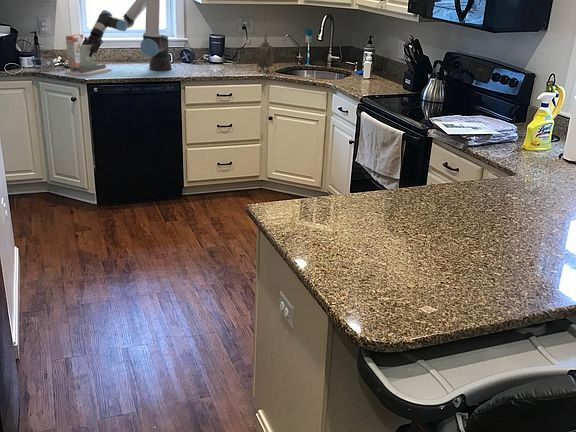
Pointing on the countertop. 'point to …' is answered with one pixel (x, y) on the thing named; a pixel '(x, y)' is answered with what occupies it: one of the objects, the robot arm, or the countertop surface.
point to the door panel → (83, 53)
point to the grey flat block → (88, 70)
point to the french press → (43, 59)
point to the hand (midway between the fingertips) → (83, 59)
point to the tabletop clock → (265, 55)
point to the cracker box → (74, 49)
